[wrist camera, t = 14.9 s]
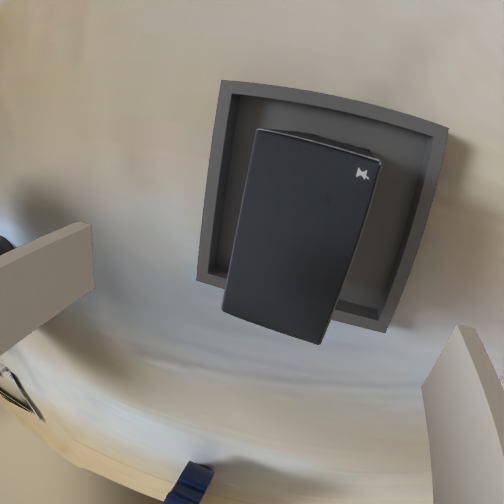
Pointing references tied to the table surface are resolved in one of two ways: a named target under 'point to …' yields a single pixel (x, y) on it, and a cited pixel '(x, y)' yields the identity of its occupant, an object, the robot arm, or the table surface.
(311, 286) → the small box
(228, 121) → the holder tray
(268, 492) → the table surface
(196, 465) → the sign
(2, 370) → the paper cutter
